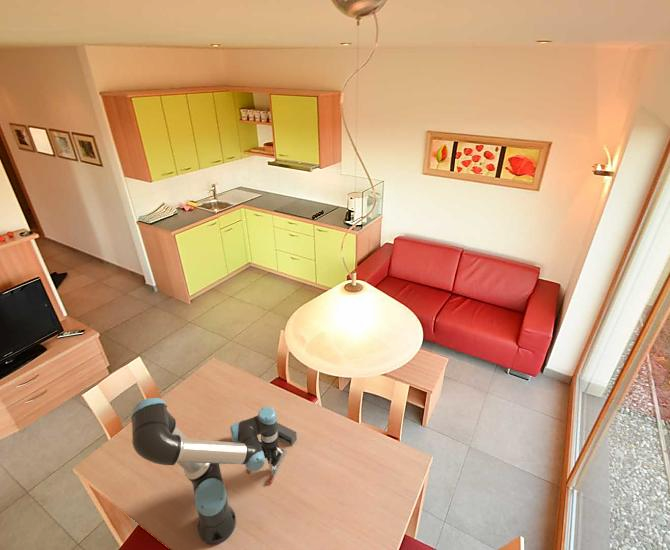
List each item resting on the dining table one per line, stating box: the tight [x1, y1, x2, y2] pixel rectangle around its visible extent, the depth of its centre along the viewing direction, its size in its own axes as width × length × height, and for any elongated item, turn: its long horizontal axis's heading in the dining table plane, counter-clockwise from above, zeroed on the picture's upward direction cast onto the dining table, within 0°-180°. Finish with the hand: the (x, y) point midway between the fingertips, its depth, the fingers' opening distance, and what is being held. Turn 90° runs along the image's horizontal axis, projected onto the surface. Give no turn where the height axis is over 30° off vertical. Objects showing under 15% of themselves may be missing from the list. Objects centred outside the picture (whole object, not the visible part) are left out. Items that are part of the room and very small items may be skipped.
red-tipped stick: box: [267, 448, 288, 485], centre depth 185 cm, size 17×2×2 cm, turn 161°
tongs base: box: [246, 435, 291, 475], centre depth 191 cm, size 28×9×3 cm, turn 151°
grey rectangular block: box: [277, 422, 298, 446], centre depth 198 cm, size 4×12×6 cm, turn 61°
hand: (272, 468), depth 184 cm, fingers closed
